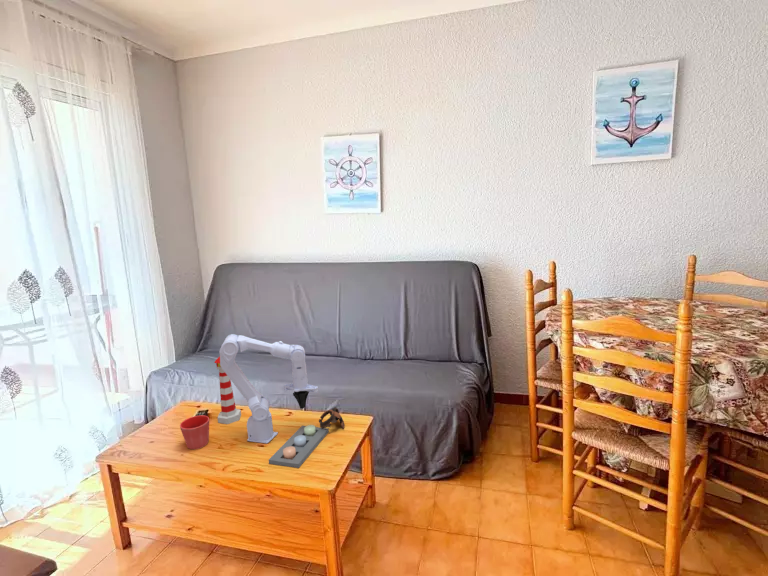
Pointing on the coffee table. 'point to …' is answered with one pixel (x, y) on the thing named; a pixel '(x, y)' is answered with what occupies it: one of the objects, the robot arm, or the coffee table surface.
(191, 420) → the flower pot
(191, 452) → the coffee table surface
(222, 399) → the decorative lighthouse
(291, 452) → the terracotta button
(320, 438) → the grey slotted board
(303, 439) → the slate button
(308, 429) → the sage button
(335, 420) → the brown curved piece
